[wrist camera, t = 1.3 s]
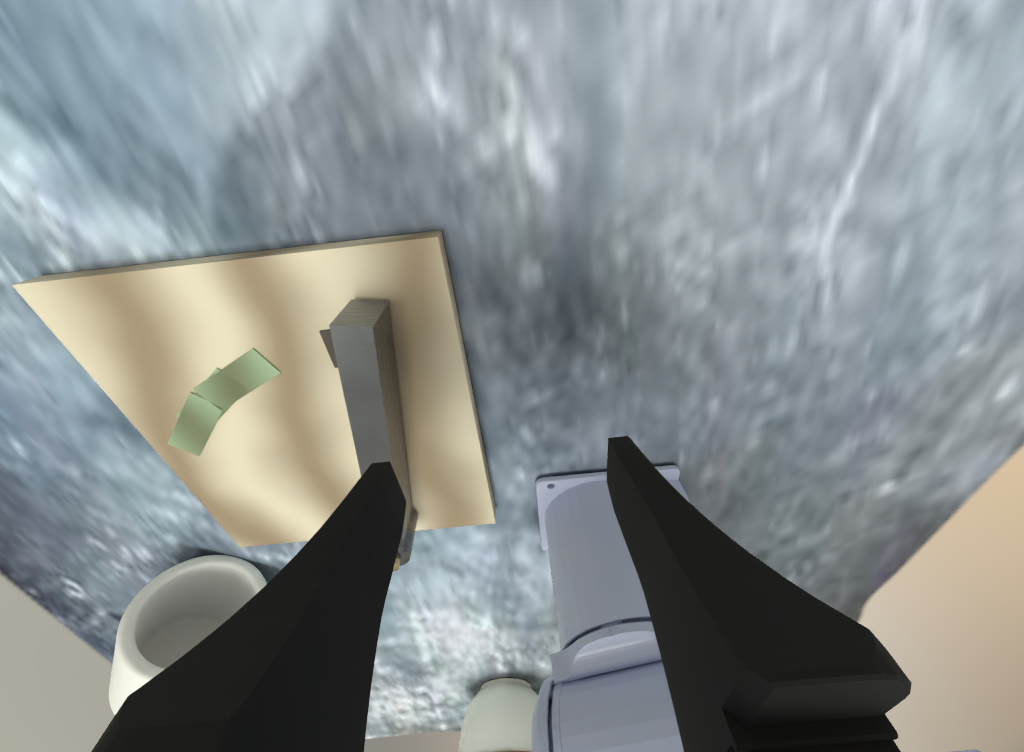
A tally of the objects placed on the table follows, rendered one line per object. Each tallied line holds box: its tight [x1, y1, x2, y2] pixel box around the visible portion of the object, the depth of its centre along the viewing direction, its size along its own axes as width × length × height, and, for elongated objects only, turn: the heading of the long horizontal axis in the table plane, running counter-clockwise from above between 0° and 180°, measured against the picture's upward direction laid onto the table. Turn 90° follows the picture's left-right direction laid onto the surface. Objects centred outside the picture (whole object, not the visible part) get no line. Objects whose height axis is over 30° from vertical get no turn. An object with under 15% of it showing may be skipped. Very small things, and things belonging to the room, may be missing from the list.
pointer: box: [329, 299, 418, 571], centre depth 19 cm, size 2×16×3 cm, turn 176°
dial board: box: [12, 230, 496, 547], centre depth 21 cm, size 18×19×1 cm
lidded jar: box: [459, 678, 538, 752], centre depth 41 cm, size 11×11×9 cm
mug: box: [109, 555, 267, 715], centre depth 28 cm, size 12×10×8 cm
